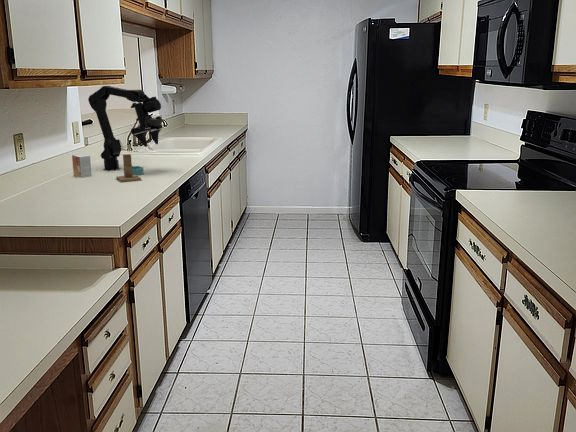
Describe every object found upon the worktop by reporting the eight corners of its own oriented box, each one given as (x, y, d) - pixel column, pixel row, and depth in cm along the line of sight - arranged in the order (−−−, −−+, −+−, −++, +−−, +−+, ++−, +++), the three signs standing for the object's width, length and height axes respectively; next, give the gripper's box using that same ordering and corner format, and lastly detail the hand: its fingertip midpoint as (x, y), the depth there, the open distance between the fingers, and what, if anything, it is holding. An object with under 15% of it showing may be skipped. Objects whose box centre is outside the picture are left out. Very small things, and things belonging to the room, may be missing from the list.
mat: (115, 179, 265) (114, 178, 265) (136, 177, 270) (136, 176, 270) (120, 183, 256) (120, 182, 256) (142, 181, 261) (142, 180, 261)
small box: (73, 176, 273) (71, 155, 270) (84, 174, 277) (82, 153, 274) (81, 178, 267) (79, 156, 265) (92, 176, 271) (90, 155, 269)
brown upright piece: (116, 178, 264) (114, 154, 261) (135, 177, 269) (133, 152, 266) (121, 182, 257) (119, 156, 254) (141, 180, 261) (139, 155, 258)
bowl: (121, 174, 276) (120, 167, 275) (136, 172, 283) (136, 165, 282) (131, 177, 270) (130, 170, 269) (146, 174, 277) (146, 167, 276)
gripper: (144, 112, 263) (153, 144, 265) (166, 109, 279) (175, 139, 282) (126, 118, 267) (135, 149, 270) (149, 114, 284) (157, 144, 287)
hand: (151, 145), depth 277 cm, fingers open, 9 cm apart
